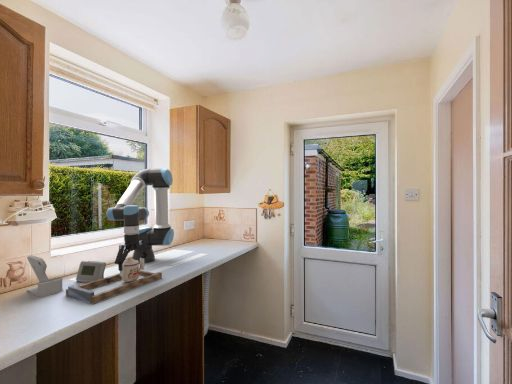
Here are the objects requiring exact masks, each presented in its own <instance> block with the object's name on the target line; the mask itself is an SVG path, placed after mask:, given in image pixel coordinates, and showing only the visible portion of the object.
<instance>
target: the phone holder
mask: <svg viewBox="0 0 512 384" xmlns="http://www.w3.org/2000/svg"><path fill="white" fill-rule="evenodd" d="M26 259H27V260H28V263H29V264H30V267H31V269H32V270H33V272H34V274H35V276H36V279H37V280H38V283H37V286H34V287H30V288H27V290H26V291H27V292H28V291H29V292H28V293H30V292H31V294H32V293H33V294H32V295H34V294H35V295H34V296H37V298H45V297H48V296H51V295H54V294H57V293H59V294H60V293H61V292H64V288H63V277H61V276H60V277H54V278H48V275H47V273H46V271H47V267H48V266H47V263H46V261H45V260H44V259H43V258H42V257H38V256H37V255H32V254H30V255H28V256H27V257H26Z"/></svg>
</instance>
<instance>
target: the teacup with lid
mask: <svg viewBox="0 0 512 384" xmlns="http://www.w3.org/2000/svg"><path fill="white" fill-rule="evenodd" d="M132 257H133V256H130V257H128V258H127V259H125V261H124V262H123V264H124V277H122V276H121V277H122V279H121V281H122V282H133V281H135V280H138V279H140V275H139V271H140V270H141V268H142V264H141V263H139V261H138V260H134V259H132ZM141 271H142V270H141Z"/></svg>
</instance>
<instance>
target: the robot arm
mask: <svg viewBox="0 0 512 384" xmlns="http://www.w3.org/2000/svg"><path fill="white" fill-rule="evenodd" d="M172 184H173V175H172V172H171V171H170V169H168V168H144V169H141V170H140V171H139V172H137V173H136V174H135V175H134V176H133V177H132V178H131V180H130V184H129V186H128V187H127V189H126V190H125V192H124V193H123V194H122V196H121V197H120V198H119V200H118V201H117V203H116V204H115V206H114V207H109V208H108V209H107V210H106V214H105V215H106V216H105V217H106V218H107V220H108V221H114V222H117V221H123V233H124V235H123V237H124V238H123V241H124V244H119V245H118V251H117V254H116V257H115V261H114V264H115V265H118V271H119V273H120V276H122V277H124V264H123V262H124V261H126V260H127V257H128V256H129V254H130V252H132V253H133V254H132V256H131V257H132V259H134V260H138V261H139V263H141V264H142V268H141V271H145V264H146V263H151V262H154V261H155V260H156V255H155V254H154V250H153V246H155V247H157V246H161V247H164V246H170V245H171V244H172V242H173V240H174V237H175V231H174V229H173V228H172V225H170V223H169V202H168V201H169V197H168V196H169V195H168V193H169V192H168V191H169V189H170V188H171V187H170V186H172ZM147 186H152V187H151V188H152V190H153V191H154V214H155V225H154V226H153V227H152V226H146V227H140V221H143V220H146V219H147V218H148V217H149V216H150V211H149V209H148V208H147V207H144V206H139V205H136V204H134V202H135V200H136V199H137V197H138V196H139V195H140V193H141V191H142V190H143V189H144V188H145V187H147Z"/></svg>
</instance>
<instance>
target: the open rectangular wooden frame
mask: <svg viewBox="0 0 512 384" xmlns="http://www.w3.org/2000/svg"><path fill="white" fill-rule="evenodd" d="M139 276H143V277H142V278H138V279H137V280H134V281H127V283H124V284H122V285H119V286H116V287H114V288H109V289H107V290H104V291H101V292H99V293H96V294H95V290H94V291H93V290H92V289H96V288H99V287H101V286H104V285H110V284H112V283H113V282H116V281H120V280H122V277H121V276H120V272H119V273H114V274H112V275H108V276H106V277H104V278H102V279H99V280H95V281H92V282H89V283H85V282H84V283H83V284H80V285H70V286H68V288H66V289H65V296H66V297H69V298H73V299H75V300H77V301H78V300H79V301H81V302H85V303H88V304H91V305H94V304H96V303H99V302H102V301H104V300H107V299H110V298H113V297H115V296H118V295H120V294H123V293H125V292H129V291H131V290H134V289H136V288H139V287H141V286H145V285H147V284H149V283H152V282H155V281H157V280H160V279H162V278H163V272H160V271H158V272H153V271H152V272H151V271H145V270H140V271H139Z"/></svg>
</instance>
